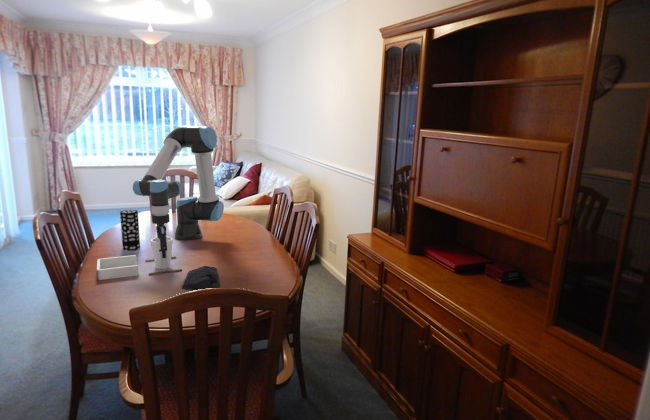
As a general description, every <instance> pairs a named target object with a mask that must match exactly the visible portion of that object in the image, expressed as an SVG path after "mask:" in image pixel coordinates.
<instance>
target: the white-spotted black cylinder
mask: <svg viewBox="0 0 650 420" xmlns="http://www.w3.org/2000/svg"><path fill="white" fill-rule="evenodd" d="M119 214H120V229H121V230H120V232H121V242H122V250H123V251H124V252H132V251H133V252H134V251H138V250H139V249H141V239H140V228H139V227H140V225H139V213H138V210H136V209H125V210H120V211H119Z"/></svg>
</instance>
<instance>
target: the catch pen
mask: <svg viewBox="0 0 650 420" xmlns="http://www.w3.org/2000/svg"><path fill="white" fill-rule="evenodd" d="M96 263H97V264H96V274H97V281H101V280H110V279H117V278H127V277H133V276H139V275H140V273H139V264H138V263H137V255H136V254H133V255H123V256H115V257H105V258H104V257H103V258H97V261H96Z"/></svg>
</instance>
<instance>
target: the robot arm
mask: <svg viewBox="0 0 650 420" xmlns="http://www.w3.org/2000/svg"><path fill="white" fill-rule="evenodd" d="M217 137H218V136H217V133H216V131H215V130H214V129H213V128H212V127H211V126H206V125H186V124H185V125H184V124H183V125H180V126H178V127H176V128H175V129H173V130H171V132H169V133H168V135H166V136H165V138H164V140H163V146H162V148H161V149H160V150H159V152H158V154H157V156H155V159H154V160H153V161H152V163H151V165H150V167H149V168H148V170H147V172H146V173H145V175H144V176H143V177H142V179H136V180H134V182H133V184H132V191H133V194H134V195H136V196H142V197H150V206H151V207H149V210H151V211H150V212H151V223H152V224H154V225H156V226H155V228H156V237H158V239H160V248H161V250H159V252H160V256H161V265H164V264H167V242H166V237H167V226H166V225H165V224H168V223H169V222H170V205H169V199H173V198H177V197H178V196H180V195H181V194H182V193H183V190H184V188H183V187H184V186H183V185H182V183H181V182H180V181H178V180H171V181H167V180H166V179H163V178H164V176H165V174H166V172H167V171H168V169H169V168H170V166H171V164H172V162H173V160H175V158H176V155H177V154H178V153H180V152H181V151H182V149H184V148H189V149H191V154H193V155H194V159H195V166H196V175H197V176H196V177H197V182H198V190H199V191H198V192H199V197H197V196H185V197H181V198H178V199H177V200H176V207H175V209H176V222H177V223H176V228H175V231H174V238H175V239H177V240H181V241H189V240H190V241H191V240H192V241H193V240H197V239H200V238H202V237H203V233H202V229H201V226H200V224H199V221H203V222H204V221H206V222H219V220H221V218H222V217H223V214H224V210H225V209H224V207H225V205H224V202H223V201H222V200H220V199H219V198H220V197H219V195H217V193H216V186H215V185H216V184H215V177H214V168H213V159H212V158H213V157H212V156H213V155H212V153H213V152H214V150H215V148H216V147H217V145H218V144H217V143H218V138H217Z"/></svg>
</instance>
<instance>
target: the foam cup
mask: <svg viewBox="0 0 650 420" xmlns="http://www.w3.org/2000/svg"><path fill="white" fill-rule="evenodd" d="M166 242H167V264H164V265H161V256H160V252H159V250H161V248H160V239H158V237H157V236H156V237H153V238H151V239H150V246H151V249H152V254H153V259H154V260H155V261H154V264H155V267H156V268H157V269H168V268H170V267H171V265H172V264H171V262H172V259H171V257H172V253H173V245H174V239H173V238H172V237H171V236H166Z"/></svg>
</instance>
